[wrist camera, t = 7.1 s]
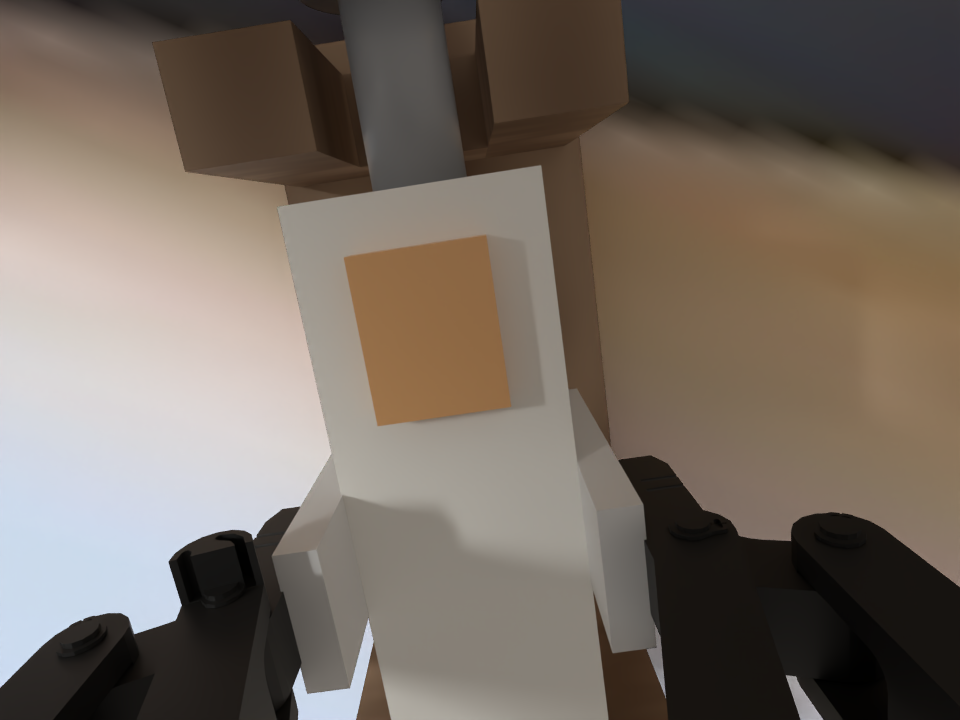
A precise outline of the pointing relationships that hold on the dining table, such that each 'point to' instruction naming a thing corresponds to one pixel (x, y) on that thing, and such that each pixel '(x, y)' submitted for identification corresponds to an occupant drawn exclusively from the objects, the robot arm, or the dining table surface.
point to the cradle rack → (486, 148)
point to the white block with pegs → (447, 398)
